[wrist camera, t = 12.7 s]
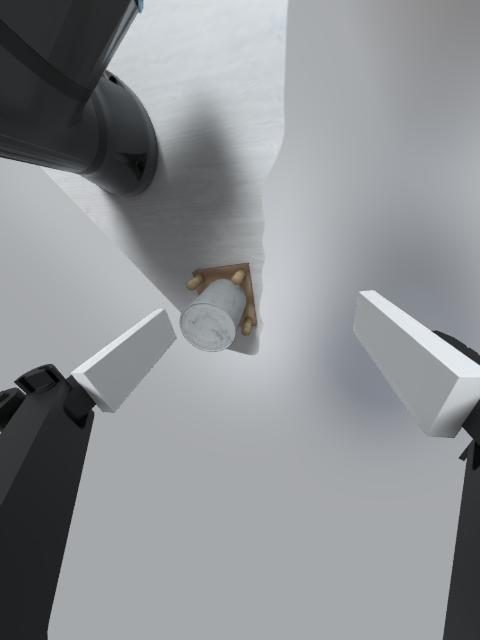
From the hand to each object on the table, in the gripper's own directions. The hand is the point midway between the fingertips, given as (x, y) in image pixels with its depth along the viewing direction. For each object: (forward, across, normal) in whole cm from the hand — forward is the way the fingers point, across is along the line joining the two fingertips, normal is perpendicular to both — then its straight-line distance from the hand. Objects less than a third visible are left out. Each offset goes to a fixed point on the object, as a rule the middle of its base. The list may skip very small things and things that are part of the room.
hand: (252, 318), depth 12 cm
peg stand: (+27, -10, -8) cm, 30 cm away
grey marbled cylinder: (+25, -10, -8) cm, 28 cm away
